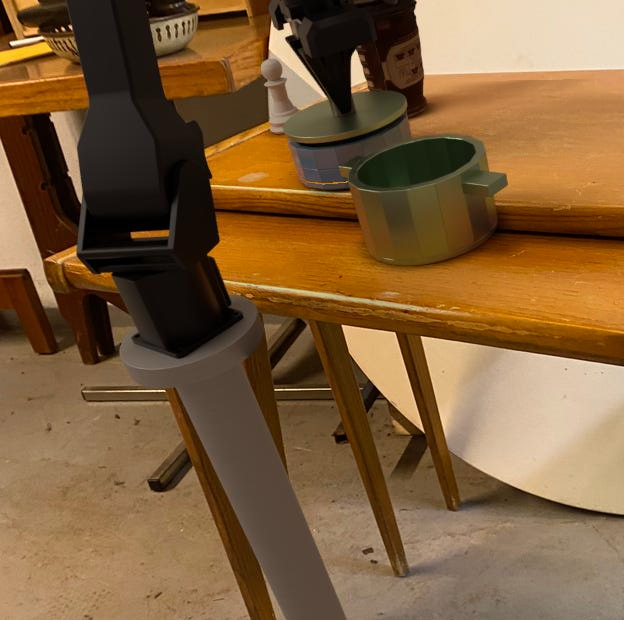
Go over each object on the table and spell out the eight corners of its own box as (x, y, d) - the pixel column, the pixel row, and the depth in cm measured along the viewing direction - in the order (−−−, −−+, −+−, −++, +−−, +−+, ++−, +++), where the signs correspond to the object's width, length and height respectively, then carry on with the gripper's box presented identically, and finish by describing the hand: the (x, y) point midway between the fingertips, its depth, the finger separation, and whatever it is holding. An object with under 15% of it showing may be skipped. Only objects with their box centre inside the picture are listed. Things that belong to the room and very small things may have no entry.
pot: (465, 280, 72) (449, 202, 68) (320, 250, 81) (298, 180, 77) (549, 216, 78) (538, 141, 74) (405, 195, 88) (388, 128, 84)
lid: (347, 154, 86) (332, 98, 83) (261, 144, 93) (244, 92, 90) (434, 104, 93) (422, 51, 90) (347, 99, 100) (334, 49, 97)
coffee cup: (451, 97, 109) (427, -23, 101) (419, 124, 103) (392, -1, 95) (389, 100, 112) (361, -16, 104) (355, 126, 107) (323, 6, 99)
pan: (360, 199, 89) (347, 154, 86) (278, 186, 96) (264, 144, 93) (440, 149, 96) (431, 106, 93) (358, 141, 103) (347, 100, 100)
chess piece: (309, 127, 110) (288, 58, 105) (271, 137, 110) (248, 68, 105) (307, 116, 114) (287, 49, 109) (270, 126, 113) (248, 59, 108)
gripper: (409, -81, 77) (447, 107, 86) (352, -94, 91) (390, 69, 101) (283, -46, 75) (336, 142, 84) (245, -65, 89) (294, 98, 99)
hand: (342, 110), depth 92 cm, fingers closed on lid, 2 cm apart
